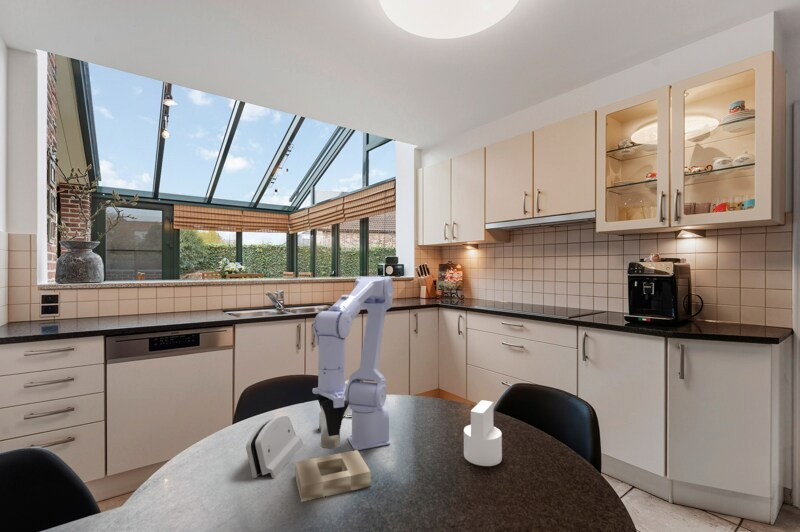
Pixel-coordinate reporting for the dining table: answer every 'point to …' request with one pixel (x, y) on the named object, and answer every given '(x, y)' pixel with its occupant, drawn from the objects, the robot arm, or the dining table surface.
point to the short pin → (320, 421)
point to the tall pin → (327, 440)
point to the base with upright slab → (482, 437)
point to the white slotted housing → (272, 446)
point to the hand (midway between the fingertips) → (331, 430)
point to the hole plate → (331, 475)
